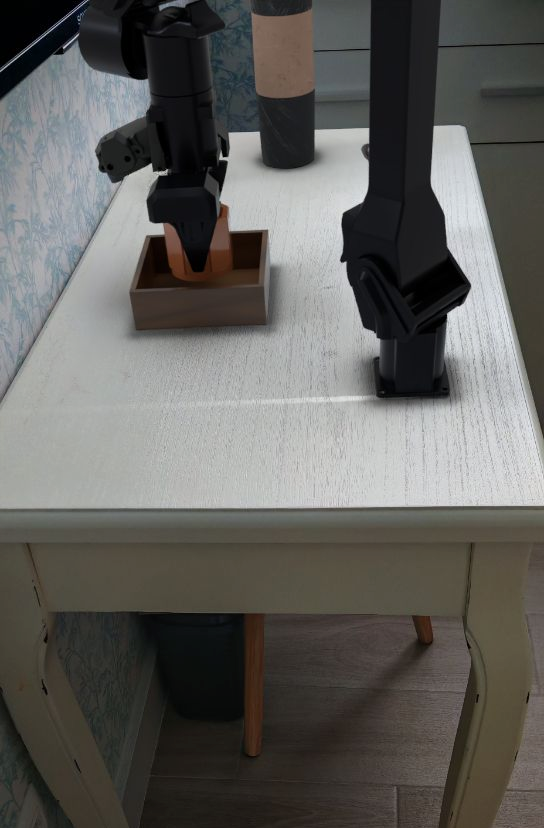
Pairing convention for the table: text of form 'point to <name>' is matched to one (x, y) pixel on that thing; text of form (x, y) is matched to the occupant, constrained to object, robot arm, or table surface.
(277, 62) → the travel mug
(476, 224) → the table surface
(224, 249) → the bucket
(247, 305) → the wooden box
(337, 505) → the table surface
